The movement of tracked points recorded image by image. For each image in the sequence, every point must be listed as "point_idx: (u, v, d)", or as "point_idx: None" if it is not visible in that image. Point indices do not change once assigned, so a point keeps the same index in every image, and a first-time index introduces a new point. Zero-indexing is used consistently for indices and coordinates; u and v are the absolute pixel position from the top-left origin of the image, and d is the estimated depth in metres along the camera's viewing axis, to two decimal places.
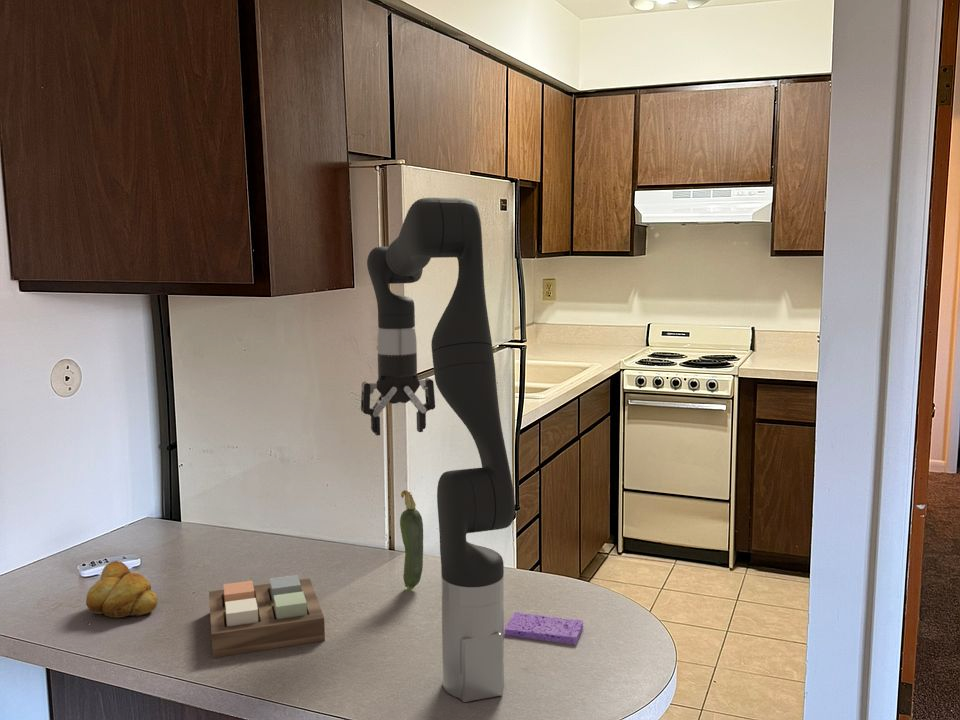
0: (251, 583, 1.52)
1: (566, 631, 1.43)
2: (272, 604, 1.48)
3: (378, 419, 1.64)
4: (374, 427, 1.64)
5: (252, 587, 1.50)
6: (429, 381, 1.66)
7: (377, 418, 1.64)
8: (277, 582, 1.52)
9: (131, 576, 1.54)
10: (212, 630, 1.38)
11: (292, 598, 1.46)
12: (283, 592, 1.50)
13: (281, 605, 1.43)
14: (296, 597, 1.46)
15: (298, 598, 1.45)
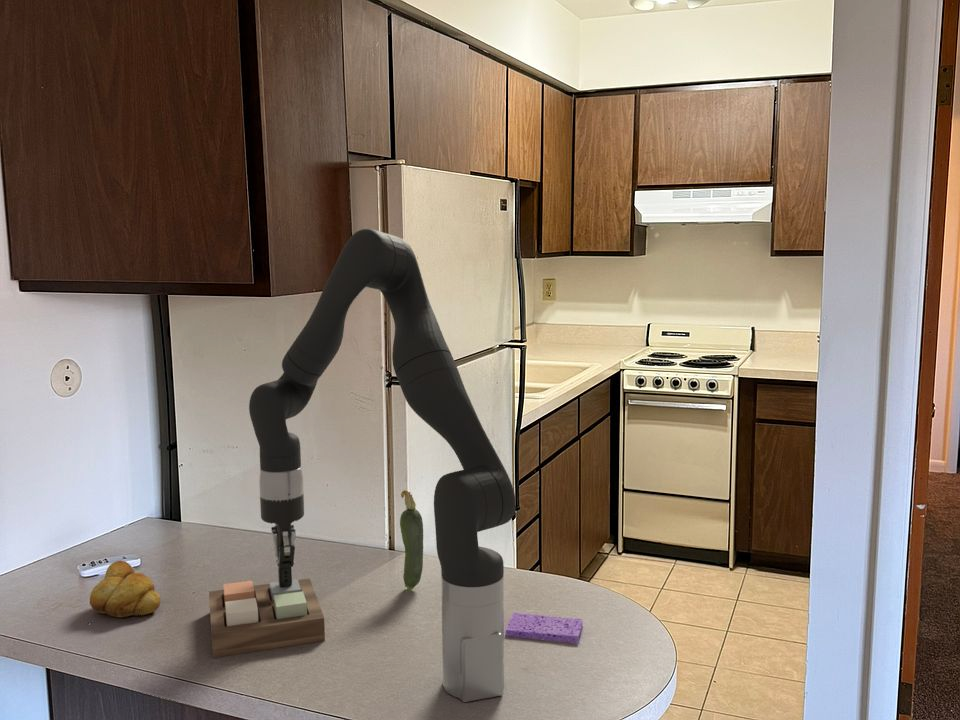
0: (251, 583, 1.52)
1: (567, 630, 1.43)
2: (272, 604, 1.48)
3: None
4: (289, 578, 1.52)
5: (252, 587, 1.50)
6: None
7: None
8: (277, 587, 1.52)
9: (135, 576, 1.54)
10: (212, 630, 1.38)
11: (292, 598, 1.46)
12: None
13: (281, 605, 1.43)
14: (296, 597, 1.46)
15: (298, 598, 1.45)
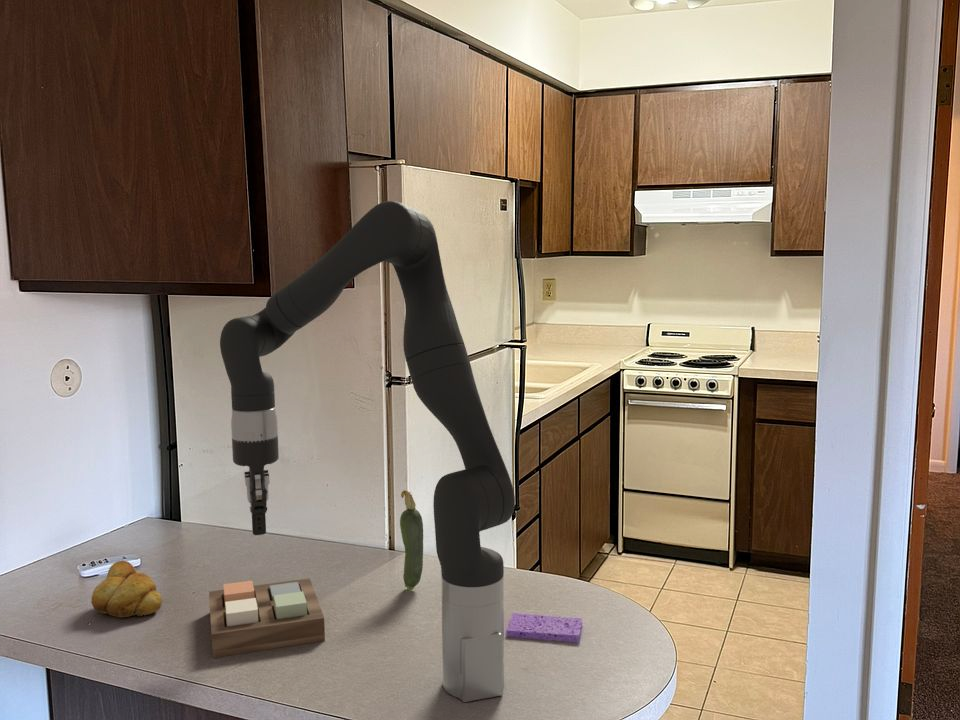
0: (251, 583, 1.52)
1: (568, 630, 1.44)
2: (272, 604, 1.48)
3: None
4: (263, 525, 1.45)
5: (252, 587, 1.50)
6: None
7: None
8: (277, 589, 1.52)
9: (136, 576, 1.54)
10: (212, 630, 1.38)
11: (292, 598, 1.46)
12: None
13: (281, 605, 1.43)
14: (296, 597, 1.46)
15: (298, 598, 1.45)
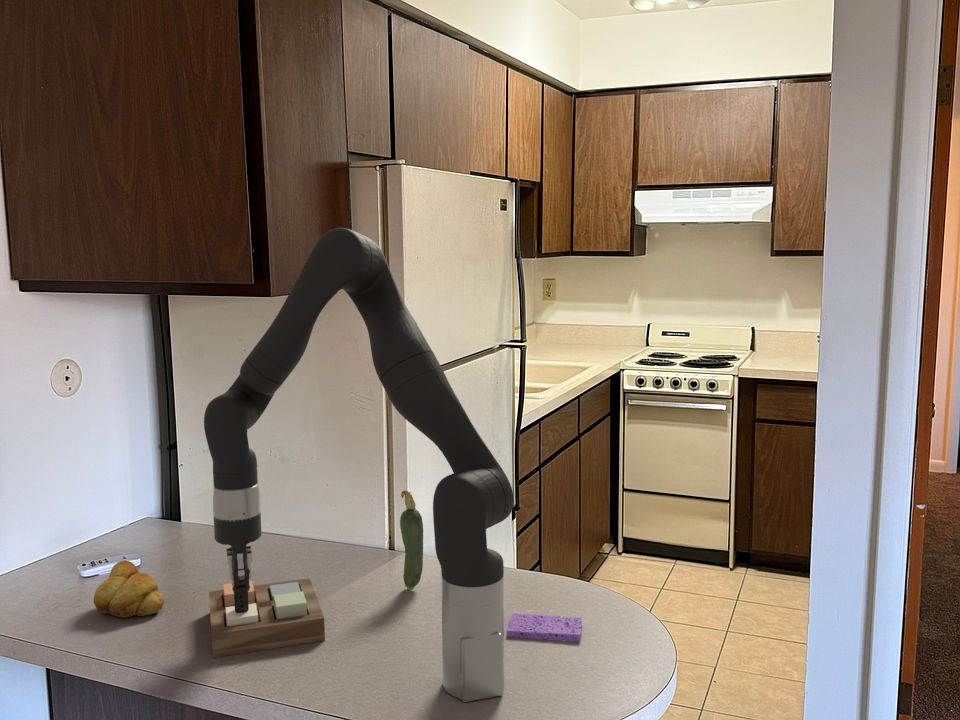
0: (251, 583, 1.52)
1: (568, 629, 1.44)
2: (272, 604, 1.48)
3: (247, 592, 1.43)
4: (245, 603, 1.42)
5: (252, 587, 1.50)
6: None
7: (247, 591, 1.42)
8: (277, 589, 1.52)
9: (138, 576, 1.54)
10: (212, 630, 1.38)
11: (292, 598, 1.46)
12: None
13: (281, 605, 1.43)
14: (296, 597, 1.46)
15: (298, 598, 1.45)
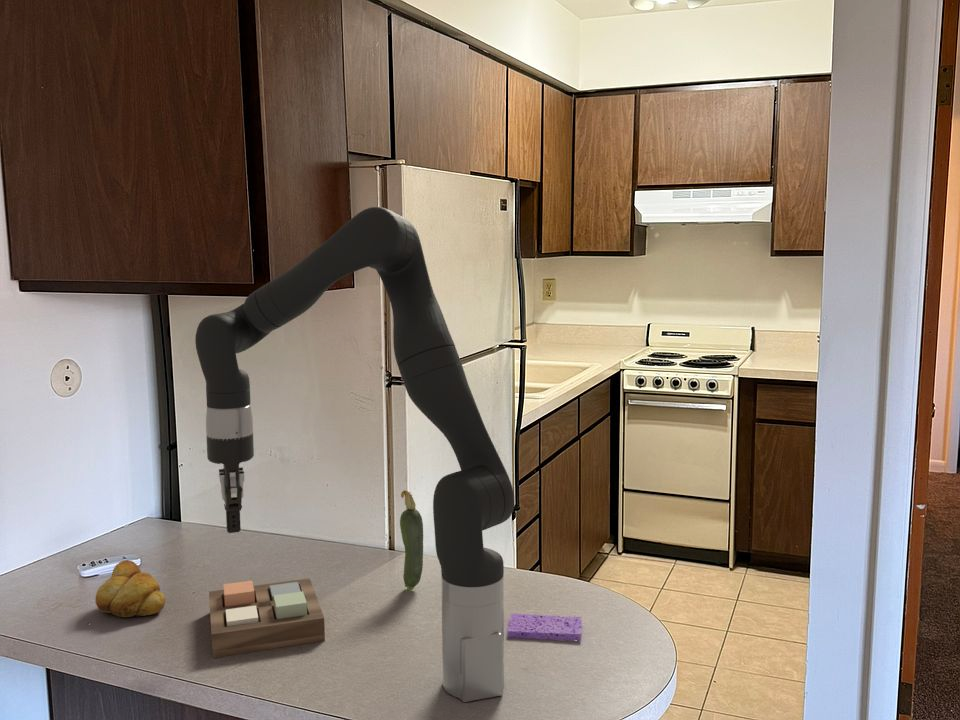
0: (251, 583, 1.52)
1: (569, 629, 1.44)
2: (272, 604, 1.48)
3: (239, 512, 1.45)
4: (238, 523, 1.44)
5: (252, 587, 1.50)
6: None
7: (239, 512, 1.44)
8: (277, 589, 1.52)
9: (140, 576, 1.54)
10: (212, 630, 1.38)
11: (292, 598, 1.46)
12: None
13: (281, 605, 1.43)
14: (296, 597, 1.46)
15: (298, 598, 1.45)
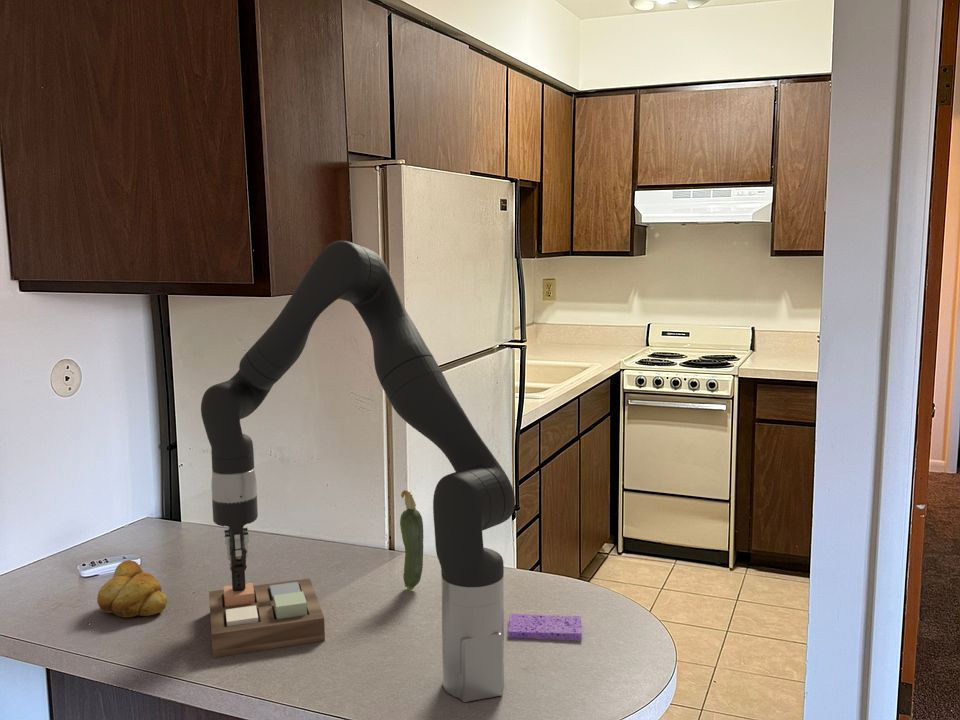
0: (251, 585, 1.52)
1: (569, 628, 1.44)
2: (272, 604, 1.48)
3: (244, 571, 1.50)
4: (242, 582, 1.49)
5: (252, 589, 1.50)
6: None
7: (244, 571, 1.50)
8: (277, 589, 1.52)
9: (141, 576, 1.54)
10: (212, 630, 1.38)
11: (292, 598, 1.46)
12: None
13: (281, 605, 1.43)
14: (296, 597, 1.46)
15: (298, 598, 1.45)
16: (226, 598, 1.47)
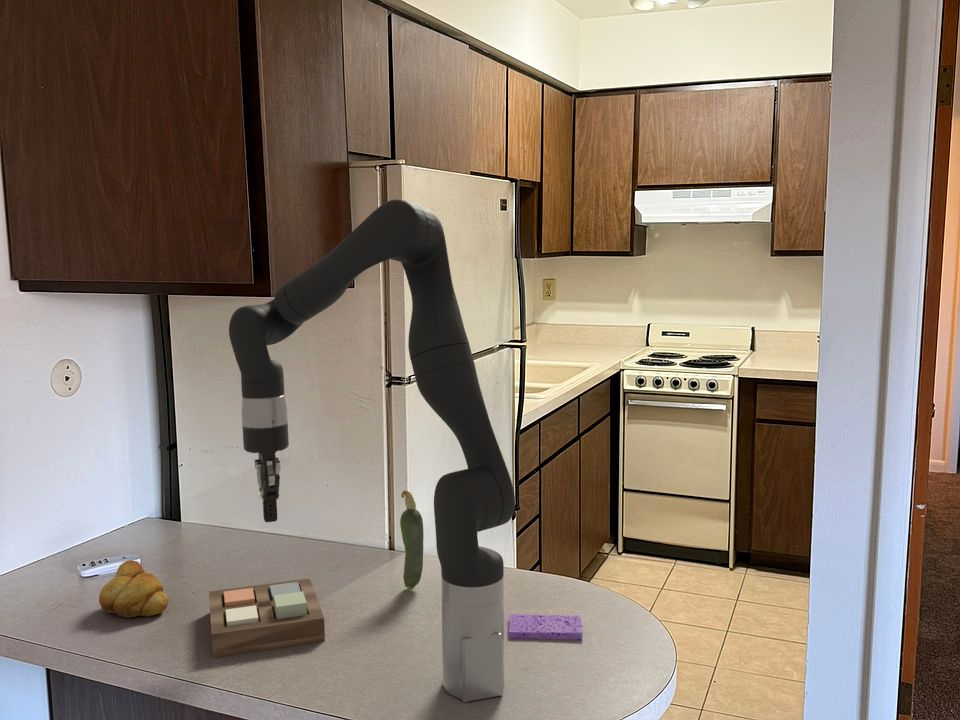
0: (251, 590, 1.52)
1: (570, 627, 1.44)
2: (272, 604, 1.48)
3: None
4: (274, 512, 1.46)
5: (252, 594, 1.50)
6: None
7: (276, 501, 1.47)
8: (277, 589, 1.52)
9: (143, 576, 1.54)
10: (212, 630, 1.38)
11: (292, 598, 1.46)
12: None
13: (281, 605, 1.43)
14: (296, 597, 1.46)
15: (298, 598, 1.45)
16: (226, 603, 1.47)
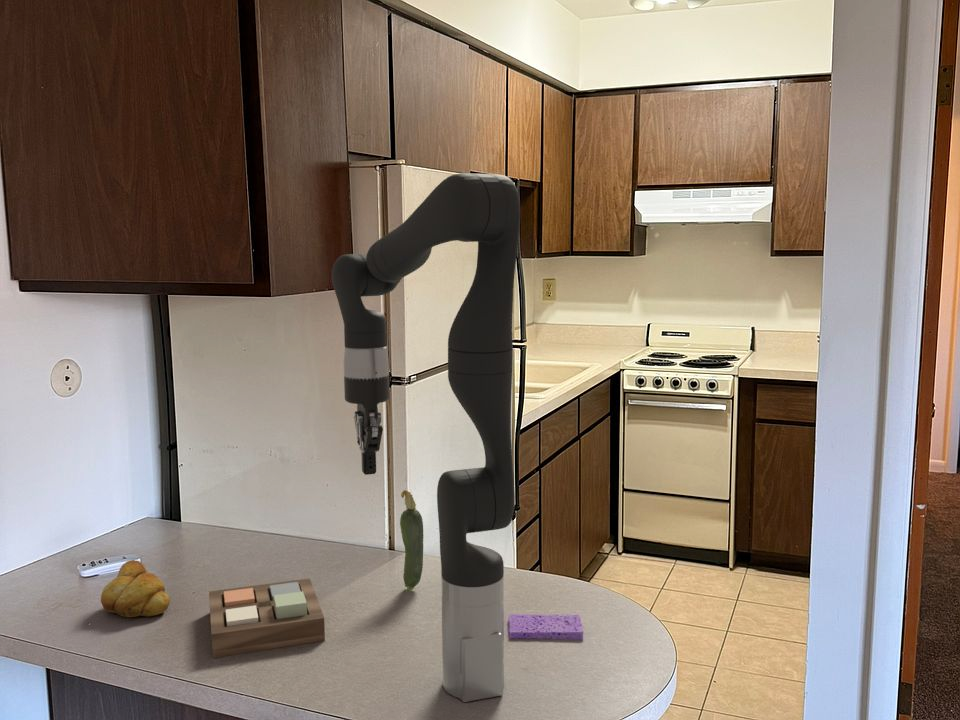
0: (251, 590, 1.52)
1: (570, 627, 1.45)
2: (272, 604, 1.48)
3: None
4: None
5: (252, 594, 1.50)
6: None
7: None
8: (277, 589, 1.52)
9: (144, 576, 1.54)
10: (212, 630, 1.38)
11: (292, 598, 1.46)
12: None
13: (281, 605, 1.43)
14: (296, 597, 1.46)
15: (298, 598, 1.45)
16: (226, 603, 1.47)
